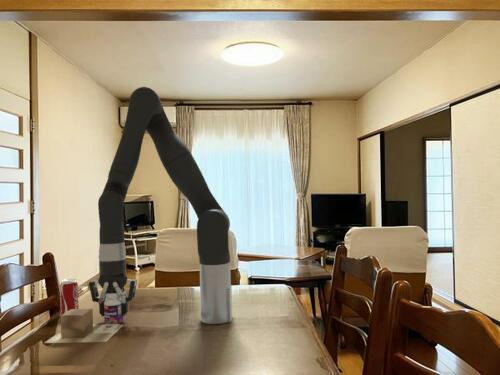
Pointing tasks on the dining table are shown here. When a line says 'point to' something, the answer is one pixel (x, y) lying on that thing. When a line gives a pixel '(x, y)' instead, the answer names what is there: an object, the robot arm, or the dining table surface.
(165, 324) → the dining table surface
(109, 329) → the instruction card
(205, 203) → the robot arm
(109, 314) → the pill bottle
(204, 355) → the dining table surface
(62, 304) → the soda can
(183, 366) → the dining table surface
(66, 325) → the walnut cube
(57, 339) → the board
